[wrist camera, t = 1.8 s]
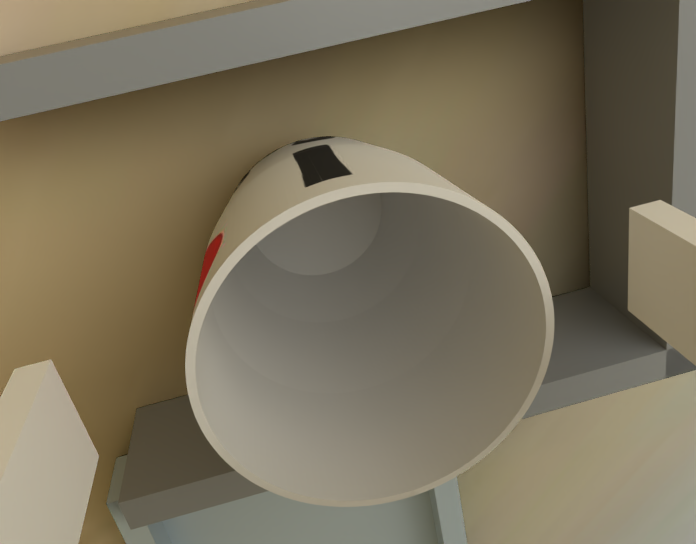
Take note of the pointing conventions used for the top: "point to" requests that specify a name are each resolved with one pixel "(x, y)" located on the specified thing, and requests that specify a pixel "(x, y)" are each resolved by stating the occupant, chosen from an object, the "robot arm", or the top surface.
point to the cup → (362, 326)
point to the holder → (380, 18)
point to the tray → (304, 520)
